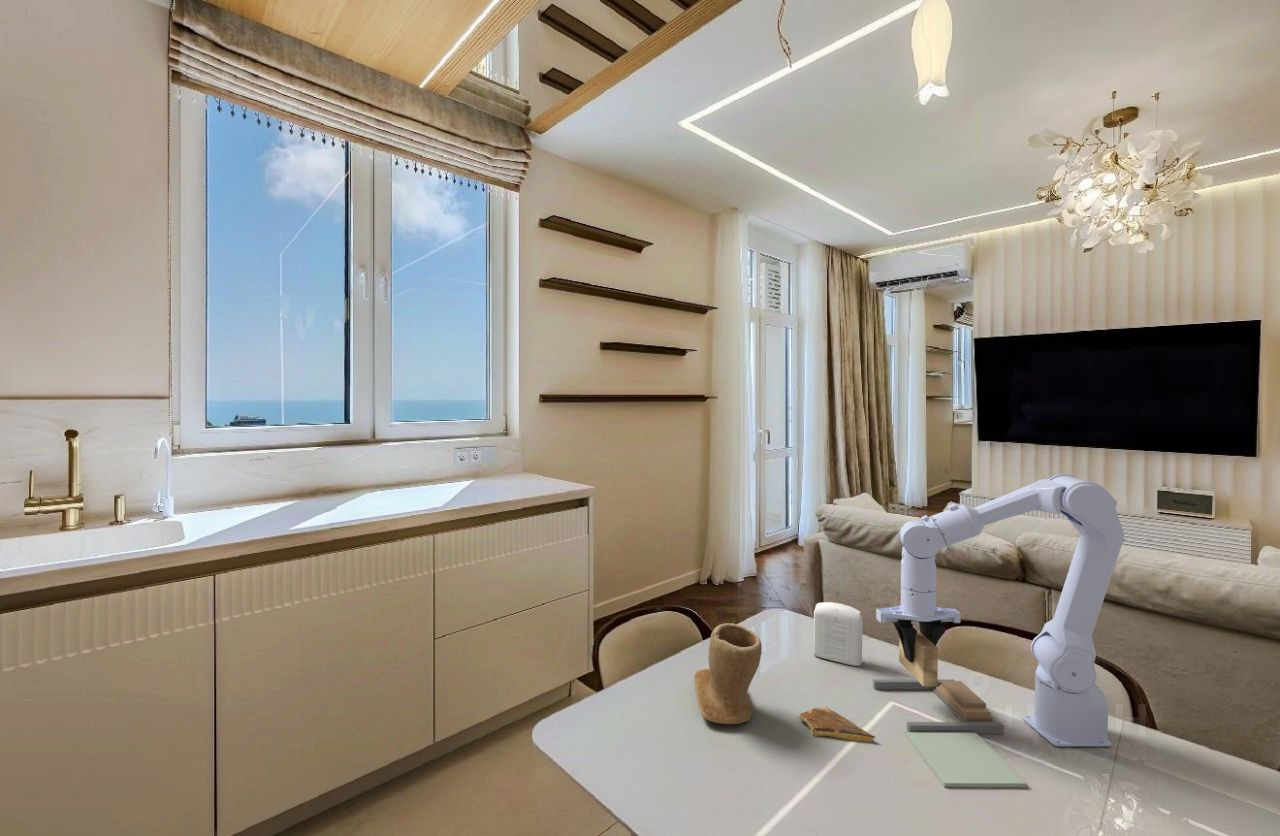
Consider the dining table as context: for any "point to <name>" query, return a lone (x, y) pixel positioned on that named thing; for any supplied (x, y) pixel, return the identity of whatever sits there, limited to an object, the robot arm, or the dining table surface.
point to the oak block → (922, 660)
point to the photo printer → (838, 633)
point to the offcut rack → (956, 700)
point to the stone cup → (728, 674)
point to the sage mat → (963, 760)
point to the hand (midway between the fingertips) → (917, 659)
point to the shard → (833, 725)
